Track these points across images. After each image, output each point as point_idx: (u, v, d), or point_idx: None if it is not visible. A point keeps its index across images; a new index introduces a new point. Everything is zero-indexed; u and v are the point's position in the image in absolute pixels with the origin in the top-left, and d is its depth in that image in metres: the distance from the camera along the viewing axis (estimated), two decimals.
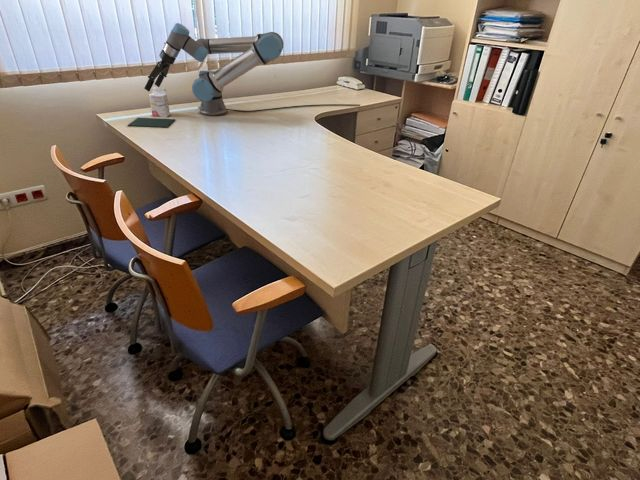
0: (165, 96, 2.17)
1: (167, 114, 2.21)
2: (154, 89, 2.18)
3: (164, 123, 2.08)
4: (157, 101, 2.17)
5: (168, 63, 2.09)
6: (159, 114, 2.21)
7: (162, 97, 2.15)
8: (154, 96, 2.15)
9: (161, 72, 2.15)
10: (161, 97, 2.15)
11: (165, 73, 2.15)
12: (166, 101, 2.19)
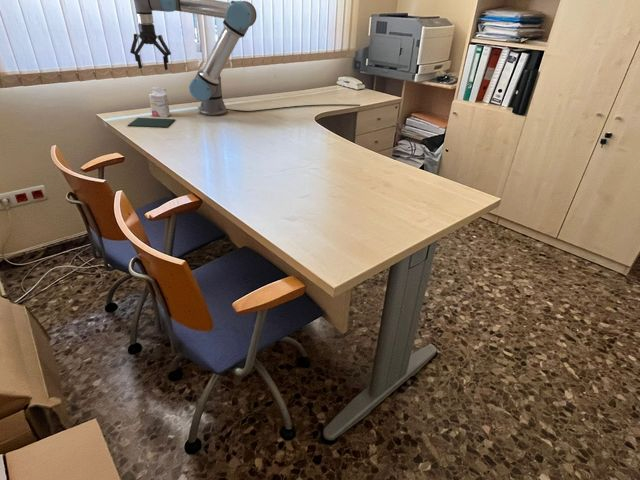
0: (165, 96, 2.17)
1: (167, 114, 2.21)
2: (154, 89, 2.18)
3: (164, 123, 2.08)
4: (157, 101, 2.17)
5: (152, 36, 2.01)
6: (159, 114, 2.21)
7: (162, 97, 2.15)
8: (154, 96, 2.15)
9: None
10: (161, 97, 2.15)
11: (161, 51, 2.04)
12: (166, 101, 2.19)
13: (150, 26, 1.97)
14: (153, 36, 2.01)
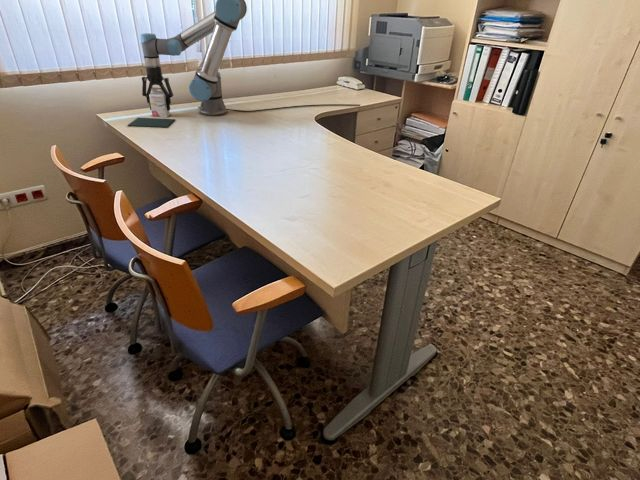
0: (165, 96, 2.17)
1: (167, 114, 2.21)
2: (154, 89, 2.18)
3: (164, 123, 2.08)
4: (157, 101, 2.17)
5: (159, 77, 2.11)
6: (159, 114, 2.21)
7: (162, 97, 2.15)
8: (154, 96, 2.15)
9: None
10: (161, 97, 2.15)
11: (165, 93, 2.15)
12: None
13: (157, 69, 2.08)
14: (160, 77, 2.11)
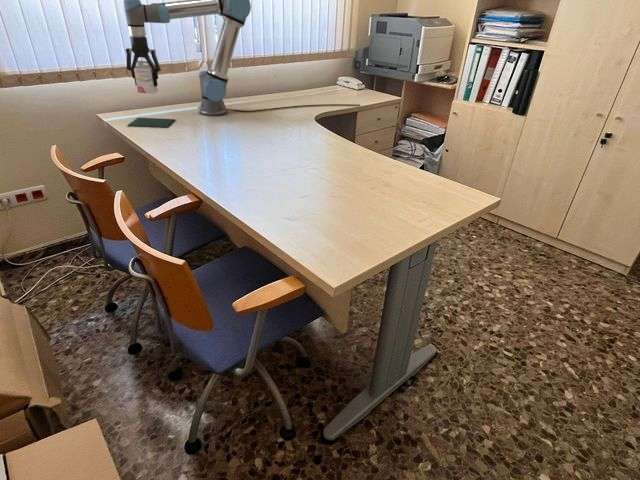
0: (152, 70, 1.98)
1: (154, 90, 2.02)
2: (140, 62, 1.99)
3: (164, 123, 2.08)
4: (143, 76, 1.97)
5: (145, 49, 1.92)
6: (145, 90, 2.01)
7: (148, 71, 1.96)
8: (139, 70, 1.96)
9: None
10: (147, 71, 1.96)
11: (152, 67, 1.96)
12: None
13: (142, 39, 1.89)
14: (145, 49, 1.92)
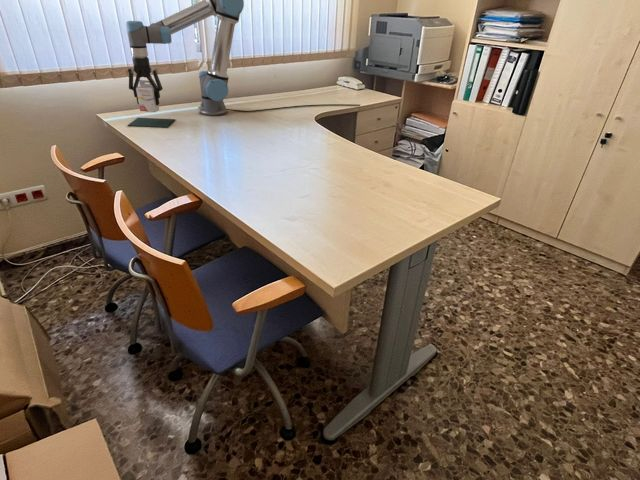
0: (153, 89, 2.01)
1: (156, 109, 2.05)
2: (142, 82, 2.01)
3: (164, 123, 2.08)
4: (145, 95, 2.00)
5: (147, 69, 1.95)
6: (147, 109, 2.04)
7: (150, 90, 1.99)
8: (141, 89, 1.99)
9: None
10: (149, 90, 1.99)
11: (153, 86, 1.99)
12: None
13: (144, 60, 1.92)
14: (147, 69, 1.95)
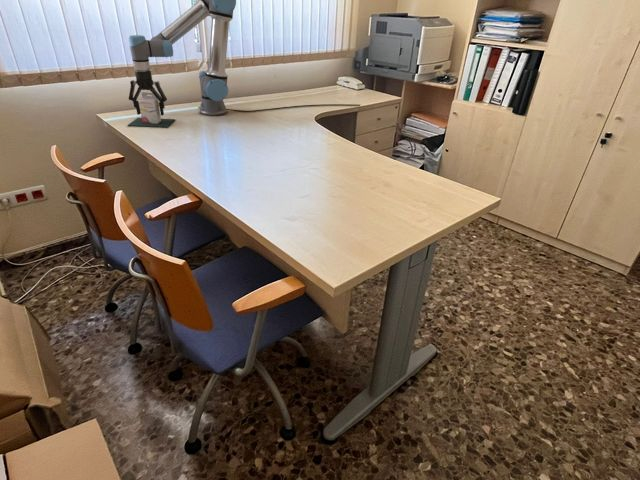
0: (156, 101, 2.04)
1: (158, 120, 2.08)
2: (144, 94, 2.05)
3: (164, 123, 2.08)
4: (147, 107, 2.04)
5: (149, 82, 1.98)
6: (149, 120, 2.08)
7: (152, 103, 2.02)
8: (144, 101, 2.02)
9: None
10: (151, 103, 2.02)
11: (158, 97, 2.02)
12: (157, 107, 2.06)
13: (147, 73, 1.95)
14: (150, 82, 1.98)
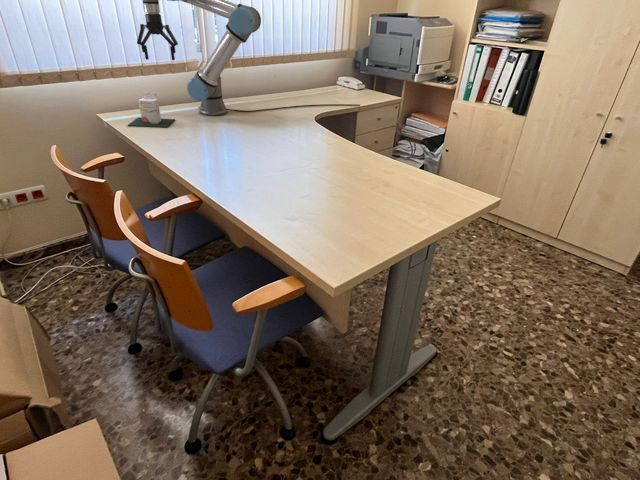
0: (156, 101, 2.04)
1: (158, 120, 2.08)
2: (144, 94, 2.05)
3: (164, 123, 2.08)
4: (147, 107, 2.04)
5: (159, 26, 1.99)
6: (149, 120, 2.08)
7: (152, 103, 2.02)
8: (144, 101, 2.02)
9: None
10: (151, 103, 2.02)
11: (169, 41, 2.03)
12: (157, 107, 2.06)
13: (157, 16, 1.96)
14: (160, 26, 1.99)
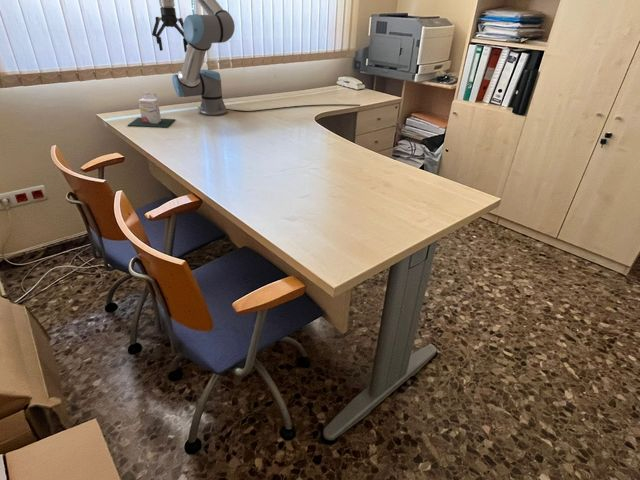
0: (156, 101, 2.04)
1: (158, 120, 2.08)
2: (144, 94, 2.05)
3: (164, 123, 2.08)
4: (147, 107, 2.04)
5: (173, 19, 2.11)
6: (149, 120, 2.08)
7: (152, 103, 2.02)
8: (144, 101, 2.02)
9: None
10: (151, 103, 2.02)
11: (182, 33, 2.14)
12: (157, 107, 2.06)
13: (171, 9, 2.07)
14: (174, 19, 2.11)
